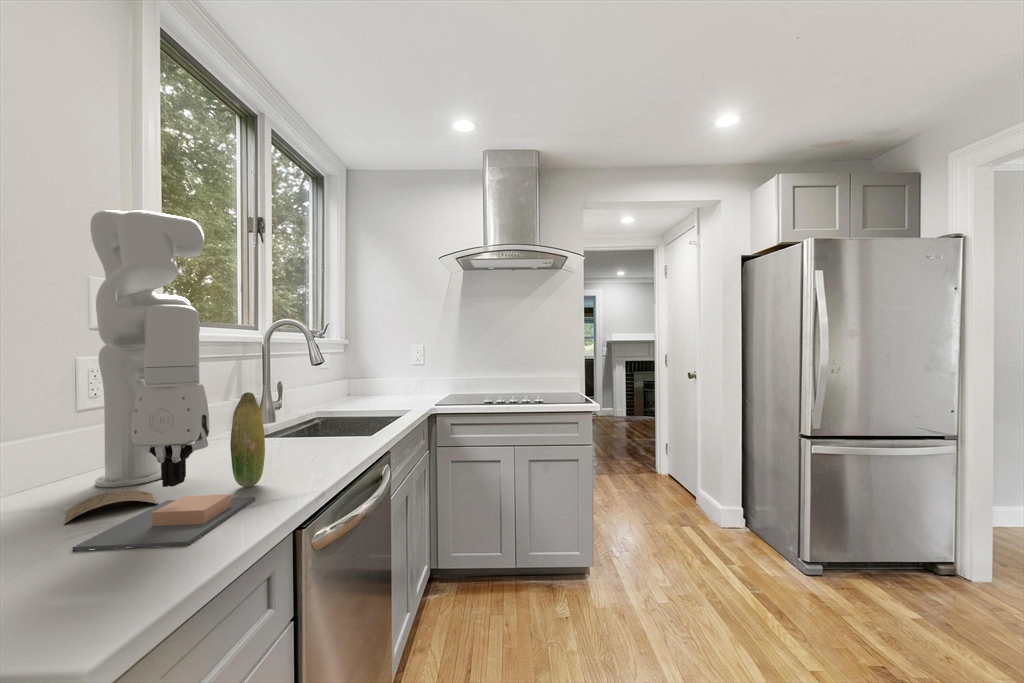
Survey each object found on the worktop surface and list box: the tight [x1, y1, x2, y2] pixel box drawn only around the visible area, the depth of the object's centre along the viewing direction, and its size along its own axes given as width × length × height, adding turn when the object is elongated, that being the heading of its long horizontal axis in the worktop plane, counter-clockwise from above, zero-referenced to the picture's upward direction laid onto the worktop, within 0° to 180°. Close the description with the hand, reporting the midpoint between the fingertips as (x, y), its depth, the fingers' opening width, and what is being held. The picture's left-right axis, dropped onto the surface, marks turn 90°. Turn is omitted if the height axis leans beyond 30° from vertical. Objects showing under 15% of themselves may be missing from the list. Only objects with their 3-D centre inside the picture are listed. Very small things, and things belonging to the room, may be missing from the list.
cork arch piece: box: [63, 489, 158, 525], centre depth 83 cm, size 14×10×3 cm
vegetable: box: [230, 391, 266, 488], centre depth 94 cm, size 6×6×20 cm
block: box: [152, 493, 232, 526], centre depth 77 cm, size 8×2×8 cm
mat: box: [71, 496, 256, 551], centre depth 76 cm, size 20×16×1 cm
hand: (173, 484), depth 77 cm, fingers closed
